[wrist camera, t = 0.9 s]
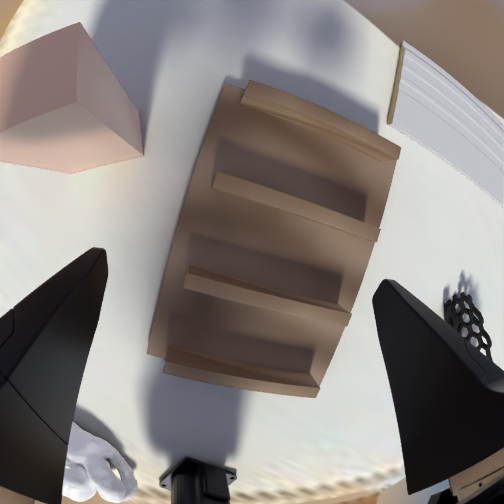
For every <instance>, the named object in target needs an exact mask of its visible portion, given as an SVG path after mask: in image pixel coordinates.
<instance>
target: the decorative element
mask: <svg viewBox="0 0 504 504" xmlns="http://www.w3.org/2000/svg"><path fill="white" fill-rule="evenodd" d="M460 295H461V298H460V299H459V298H458V297H457V295H454V296H453V302H451V300H448V301H447V303H445V304H444V308H445V316H446V323H448V324H449V325H450V326H451V327H452V328H453V329H455V330H456V331H457V332H458V333H459V334H460V335H462V334H461V330H462V328H463V327H465V328H467V329H468V332H469V334H468V335H467V337H463V338H465V339H466V340H467V341H468V342H470V339H471V337H474V338H476V339H477V340H478V343H479V345H478V346H477V347H475V348H477V349H478V350H479V351H480V349H481V348H483V349H484V350H486V357H487V358H489V359H490V360H491V361H492V362H493V360H492V357H491V352H490V348H491V346H492V342H491V339H490V336H489V335H488V333H487V332H486V331H485V330H484V327H483V322H484V319H483V317H482V315H481V313H480V311H479V310H478V309H477V308H476V307H475V306H474V304H473V302H472V298H471V296H470V294H469V295H467V296H466V295H465V293H464V292H462V293H461V294H460ZM464 301H465V302H466V303H467V304H468V305H469V307H470V309H467V308H465V305H464ZM456 304H459V305H460V308H461V310H460V312H459V313H457V312H456V309H455V306H456ZM464 313H466V314H468V315H469V318H470V321H469V323H466V322H464V321H463V317H462V316H463V314H464ZM473 313H474V314H475V315H476V316H477V317H478V319H479V320H477V318H476V317H475V316H474V315H473ZM458 321H459V323H458ZM473 323H474V324H475V325H477V326H478V327H479V330H480V332H479V333H476V332H474V331H473V329H472V325H473ZM458 324H459V325H458ZM482 335H483V337H484V338H485V339H486V341H487V344H488V345H486V344H485V343H484V342H483V340H482Z"/></svg>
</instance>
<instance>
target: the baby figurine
mask: <svg viewBox="0 0 504 504" xmlns="http://www.w3.org/2000/svg"><path fill="white" fill-rule="evenodd" d="M67 446H68V451H67V457H66V464H65V472H64V480H63V490H62V495H63V496H67V497H69V498H70V499H72V500H75V501H77V502H82V501H86V500H88V499H89V498H91V497H92V496H93V495H94V494H95V493H96V489H97V490H98V492H99V494H100V496H101V497H102V498H103V499H105V500H106V501H109V502H114V503H120V502H123V501H126V500H127V499H131V498H134V497H135V495H136V494H137V480H136V479H135V477H134V473H133V470H132V469H131V468H130V466H129V464H128V463H127V462H126V461H125V459H124V458H123V457H122V456H121V455H120V454H119V452H118V450H116V449H115V448H114V447H113V446H112V445H111V444H109V443H108V442H107V441H105V440H103V439H101V438H99V437H96V436H93V435H92V434H90V433H88V432H86V431H84V430H82V429H81V428H80V427H79V426H78V425H77V424H76V423H75V422H74V421H73V422H72V427H71V432H70V438H69V444H68V445H67ZM106 458H108V459H109V460H110V461H111V462H112V464H113V465H114V466H115V468H116V469H117V470H118V472H119V474H120V477H121V480H120V479H119V478H118V477H117V476H116V475H115V474H114V473H113V472H112V470H111V468H110V465H109V463H108V461H106Z"/></svg>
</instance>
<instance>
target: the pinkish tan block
mask: <svg viewBox="0 0 504 504" xmlns="http://www.w3.org/2000/svg"><path fill="white" fill-rule="evenodd" d="M142 156H144V153H143V145H142V136H141V126H140V116H139V111H138V109H137V108H136V106H135V105H134V103H133V102H132V100H131V99H130V97H129V96H128V94H127V93H126V91H125V90H124V88H123V87H122V85H121V84H120V82H119V81H118V79H117V78H116V76H115V75H114V73H113V72H112V70H111V69H110V67H109V66H108V64H107V63H106V61H105V60H104V58H103V57H102V55H101V53H100V52H99V50H98V49H97V47H96V46H95V44H94V43H93V41H92V40H91V38H90V37H89V35H88V33H87V32H86V30H85V29H84V27H83V26H82V24H81V23H80V22H79V23H76V24H73V25H70V26H67V27H65V28H62V29H60V30H57V31H55V32H52V33H50V34H47V35H45V36H43V37H40V38H38V39H36V40H34V41H31V42H29V43H27V44H25V45H23V46H21V47H19V48H17V49H15V50H13V51H11V52H9V53H7V54H5V55H4V56H2V57H0V162H5V163H11V164H17V165H23V166H29V167H35V168H40V169H46V170H51V171H57V172H62V173H68V174H73V173H77V172H80V171H84V170H88V169H92V168H95V167H99V166H103V165H107V164H111V163H115V162H120V161H124V160H128V159H133V158H137V157H142Z"/></svg>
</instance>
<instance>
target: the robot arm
mask: <svg viewBox="0 0 504 504" xmlns="http://www.w3.org/2000/svg"><path fill="white" fill-rule="evenodd" d="M107 279H108V264H107V254H106V250H105V249H103V248H96V247H93V248H91V249H89V250H88V251H86V252H85V253H83V254H82V255H81V256H79V257H78V258H76V259H75V260H74V261H72V262H71V263H70V264H68V265H67V266H65V267H64V268H63V269H61V270H60V271H59V272H57V273H56V274H55V275H53V276H52V277H51V278H49V279H48V280H47V281H46V282H44V283H43V284H42V285H40V286H39V287H38V288H37V289H35V290H34V291H33V292H31V293H30V294H29V295H28V296H26V297H25V298H24V299H23V300H21V301H20V302H19V303H18V304H17V305H15V306H14V307H13V309H10V310H9V311H8V312H7V313H6V314H5V315H3V316H2V317H1V318H0V504H34V501H35V500H38V501H40V502H43V503H46V504H61V501H62V490H63V480H64V472H65V464H66V457H67V451H68V446H67V445H68V444H69V438H70V432H71V427H72V422H73V417H74V412H75V407H76V403H77V398H78V394H79V389H80V385H81V381H82V377H83V373H84V369H85V366H86V362H87V358H88V355H89V351H90V348H91V344H92V341H93V337H94V334H95V331H96V328H97V324H98V321H99V316H100V311H101V306H102V301H103V297H104V292H105V288H106V283H107ZM372 304H373V309H374V314H375V320H376V326H377V332H378V338H379V342H380V346H381V350H382V354H383V358H384V362H385V366H386V371H387V375H388V379H389V384H390V388H391V393H392V398H393V402H394V407H395V412H396V417H397V423H398V428H399V434H400V440H401V443H402V444H401V447H402V453H403V460H404V467H405V474H406V482H407V491H408V494H409V495H411V494H413V493H416V492H418V491H421V490H423V489H426V488H428V487H431V486H433V485H435V484H437V483H439V482H442V481H444V480H446V479H447V480H448V483H449V487H447V488H446V489H444V490H442V491H440V492H438V493H436V494H434V495H431V498H430V500H429V502H428V504H504V371H503V370H502V369H501V368H500V367H498V366H497V365H496V364H495V363H494V362H492V361H491V360H490V359H489V358H487V357H486V356H485V355H484V354H483V353H481V352H480V351H479V350H478V349H477V348H475V347H474V346H473V345H472V344H471V343H470V342H468V341H467V340H466V339H465V338H463V336H462V335H460V334H459V333H458V332H457V331H456V330H455V329H453V328H452V327H451V326H450V325H449V324H448V323H446V322H445V321H444V320H443V319H442V318H441V317H439V316H438V315H437V314H436V313H435V312H433V311H432V310H431V309H430V308H429V307H427V306H426V305H425V304H424V303H422V302H421V301H420V300H419V299H418V298H416V297H415V296H414V295H413V294H411V293H410V292H409V291H408V290H406V289H405V288H404V287H403V286H401V285H400V284H399V283H397V282H396V281H395V280H390V279H384V280H383V281H382V282H381V283H380V285H379V287H378V289H377V290H376V292H375V294H374V295H373V299H372ZM187 461H188V462H187ZM236 479H237V475H236V474H235V473H232V472H229V471H225V470H222V469H219V468H216V467H213V466H211V465H208V464H205V463H202V462H199V461H197V460H194V459H192V458H188V457H186V458H184V459H182V460H181V461H180V462H179V463H178V464H177V465H176V466H175V467H174V468H173V469H172V470H171V471H170V472H169V473H168V474H167V475H166V476H165V477H164V478H163V479H162V480H161V481H160V483H159V485H160V487H162V488H165V489H168V490H171V504H230V501H229V500H230V493H229V487H228V486H229V485H230V484H231V483H232V482H234V481H235V480H236Z"/></svg>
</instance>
